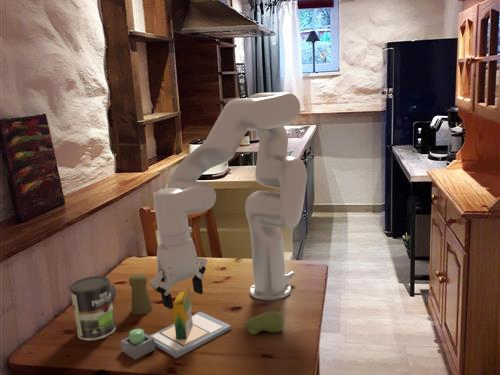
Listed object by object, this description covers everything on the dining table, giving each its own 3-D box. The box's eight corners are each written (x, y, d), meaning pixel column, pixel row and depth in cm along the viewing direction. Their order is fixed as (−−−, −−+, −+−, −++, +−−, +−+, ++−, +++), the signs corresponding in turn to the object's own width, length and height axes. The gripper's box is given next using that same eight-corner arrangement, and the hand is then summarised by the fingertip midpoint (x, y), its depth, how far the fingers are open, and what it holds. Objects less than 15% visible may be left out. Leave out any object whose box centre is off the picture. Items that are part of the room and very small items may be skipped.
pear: (281, 316, 128) (243, 323, 130) (285, 334, 129) (248, 341, 131) (282, 305, 134) (245, 312, 135) (286, 323, 135) (250, 330, 136)
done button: (140, 339, 130) (138, 327, 129) (148, 344, 127) (146, 331, 126) (127, 345, 127) (126, 332, 127) (135, 350, 125) (133, 337, 124)
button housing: (142, 341, 132) (141, 331, 131) (155, 349, 127) (154, 338, 127) (122, 351, 128) (120, 340, 127) (134, 359, 124) (133, 348, 123)
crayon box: (182, 325, 136) (178, 285, 133) (193, 325, 136) (190, 285, 133) (175, 339, 129) (171, 297, 126) (186, 339, 128) (183, 297, 126)
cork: (147, 315, 146) (142, 279, 144) (128, 314, 148) (123, 279, 145) (155, 305, 152) (151, 271, 150) (136, 305, 153) (132, 271, 151)
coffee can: (124, 326, 141) (117, 279, 137) (95, 344, 132) (87, 294, 129) (98, 319, 146) (91, 273, 143) (69, 335, 138) (61, 287, 134)
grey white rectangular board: (200, 314, 144) (200, 310, 144) (231, 329, 135) (230, 324, 135) (146, 340, 132) (146, 336, 132) (176, 358, 123) (175, 353, 123)
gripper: (192, 224, 135) (200, 283, 139) (136, 246, 123) (147, 309, 128) (210, 229, 130) (218, 290, 134) (154, 252, 118) (164, 318, 122)
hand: (183, 299), depth 131 cm, fingers open, 9 cm apart
